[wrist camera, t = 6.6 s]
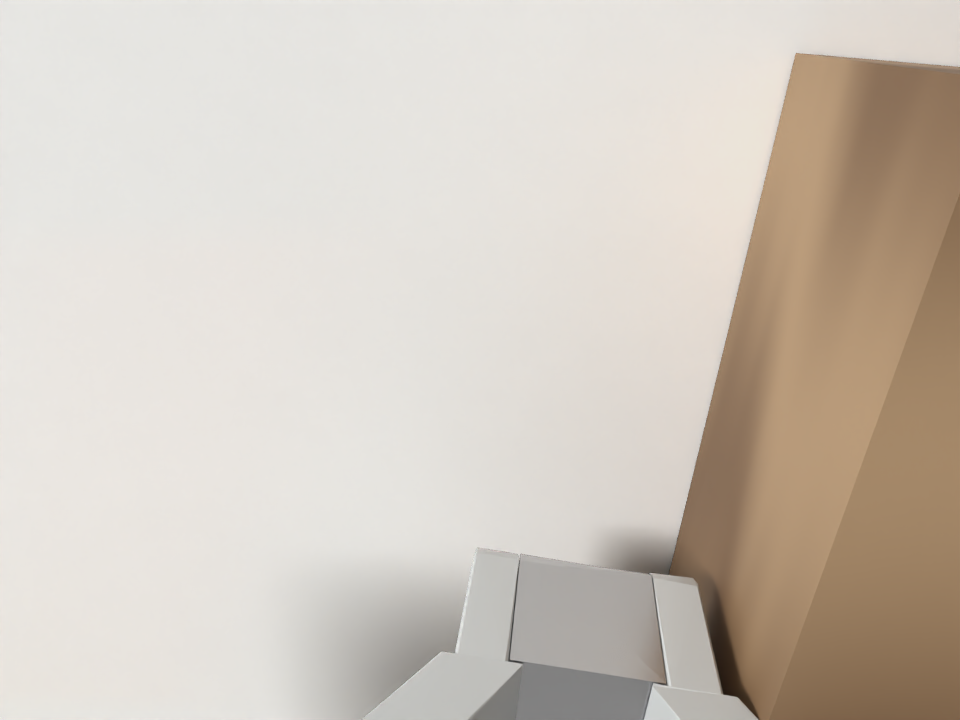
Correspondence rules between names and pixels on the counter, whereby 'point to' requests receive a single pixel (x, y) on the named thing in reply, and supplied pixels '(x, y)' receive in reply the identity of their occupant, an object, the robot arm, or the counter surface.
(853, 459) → the t block
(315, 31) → the counter surface
